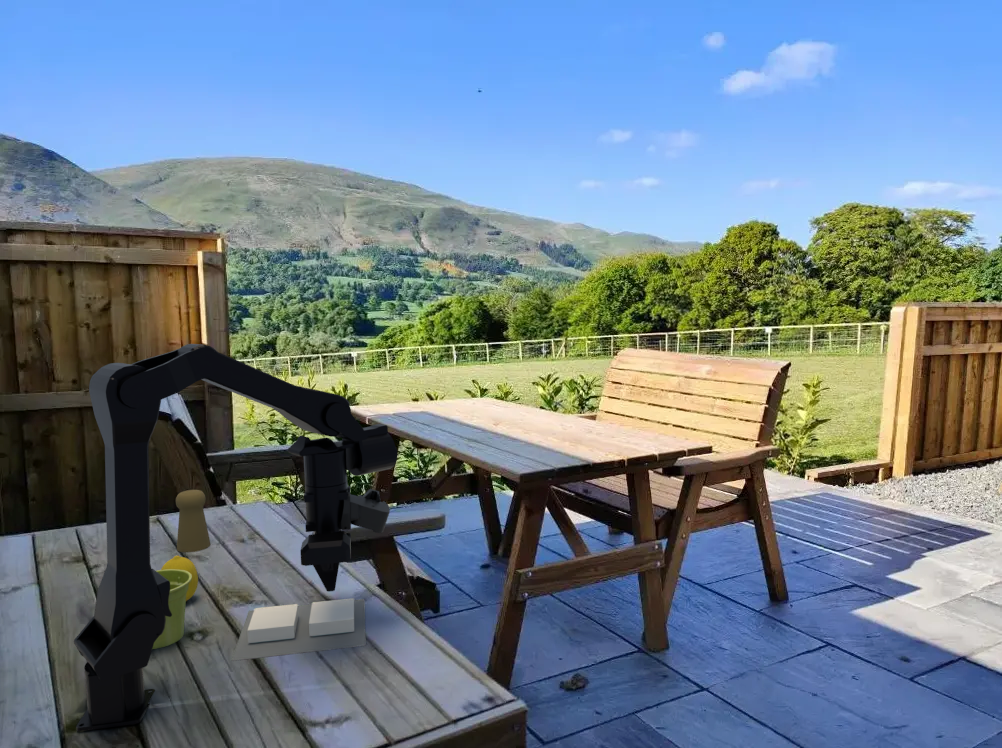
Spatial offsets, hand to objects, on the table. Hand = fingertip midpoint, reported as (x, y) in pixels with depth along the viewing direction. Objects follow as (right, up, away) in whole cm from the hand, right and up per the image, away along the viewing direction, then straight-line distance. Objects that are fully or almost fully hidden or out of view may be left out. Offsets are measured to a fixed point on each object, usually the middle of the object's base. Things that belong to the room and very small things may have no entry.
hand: (330, 590), depth 98 cm
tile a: (-9, -4, +3) cm, 10 cm away
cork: (-35, -3, +36) cm, 51 cm away
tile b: (-1, -4, +4) cm, 6 cm away
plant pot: (-23, -7, -2) cm, 24 cm away
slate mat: (-4, -6, 0) cm, 7 cm away
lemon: (-26, -6, +10) cm, 28 cm away
